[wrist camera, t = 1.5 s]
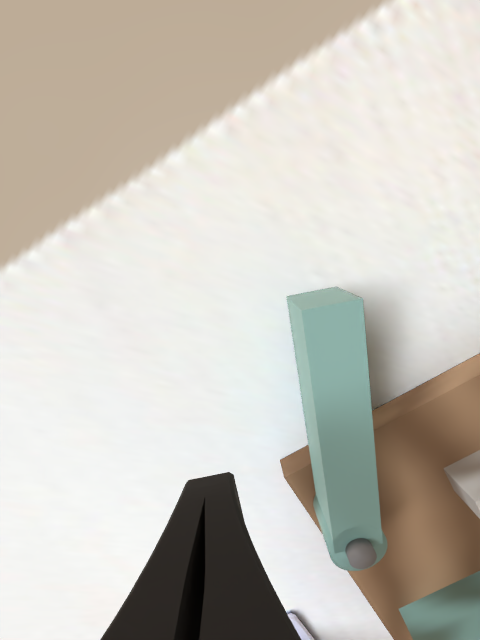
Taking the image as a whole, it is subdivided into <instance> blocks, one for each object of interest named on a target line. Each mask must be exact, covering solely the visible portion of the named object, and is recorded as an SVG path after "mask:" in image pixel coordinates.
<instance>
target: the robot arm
mask: <svg viewBox="0 0 480 640" xmlns="http://www.w3.org/2000/svg"><path fill="white" fill-rule="evenodd" d="M101 640H315V639H314V638H313V637H312V635H311V634H310V633H309V632H308V630H307V629H306V628H305V627H304V625H303V624H302V623H301V622H300V620H299V619H298V618H297V616H296V615H294V614H292V613H290V614H287V613H286V611H285V609H284V607H283V605H282V604H281V602H280V600H279V598H278V596H277V594H276V592H275V590H274V588H273V586H272V584H271V582H270V580H269V578H268V576H267V574H266V572H265V570H264V568H263V566H262V563H261V561H260V559H259V557H258V555H257V553H256V550H255V548H254V546H253V543H252V541H251V538H250V536H249V533H248V531H247V528H246V525H245V523H244V518H243V514H242V510H241V505H240V501H239V497H238V492H237V488H236V484H235V479H234V475H233V474H231V473H230V472H227V473H222V474H217V475H212V476H207V477H202V478H197V479H192V480H188V482H187V483H186V484H185V487H184V489H183V491H182V494H181V496H180V498H179V500H178V502H177V505H176V507H175V509H174V511H173V513H172V515H171V517H170V519H169V522H168V524H167V526H166V528H165V530H164V532H163V533H162V535H161V537H160V539H159V541H158V543H157V545H156V547H155V549H154V551H153V553H152V555H151V557H150V558H149V560H148V562H147V564H146V566H145V567H144V569H143V571H142V573H141V574H140V576H139V578H138V580H137V581H136V583H135V585H134V587H133V588H132V590H131V592H130V594H129V595H128V597H127V599H126V600H125V602H124V604H123V605H122V607H121V608H120V610H119V612H118V613H117V615H116V616H115V618H114V620H113V621H112V623H111V624H110V626H109V627H108V629H107V630H106V632H105V634H104V635H103V637H102V638H101Z"/></svg>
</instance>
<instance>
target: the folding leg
mask: <svg viewBox="0 0 480 640" xmlns="http://www.w3.org/2000/svg"><path fill="white" fill-rule="evenodd" d="M287 303H288V309H289V316H290V323H291V330H292V336H293V343H294V350H295V357H296V363H297V370H298V377H299V384H300V390H301V397H302V404H303V411H304V417H305V424H306V431H307V438H308V444H309V451H310V458H311V465H312V471H313V478H314V485H315V492H316V495H315V497H314V500H313V506H314V510H315V513H316V516H317V519H318V522H319V524H320V527H321V530H322V533H323V536H324V539H325V542H326V545H327V548H328V551H329V554H330V557H331V559H332V561H333V563H334V564H335V565H336V566H338V567H339V568H341V569H344V570H348V571H360V570H364V569H367V568H370V567H372V566H373V565H375V564H376V563H378V562H379V561H380V560H381V559H382V558H383V556H384V555H385V553H386V550H387V539H386V536H385V535H384V533H383V531H382V529H381V517H380V505H379V492H378V480H377V468H376V455H375V443H374V431H373V419H372V406H371V394H370V382H369V369H368V357H367V345H366V332H365V320H364V308H363V298H360V297H358V296H356V295H354V294H352V293H349V292H347V291H345V290H343V289H340V288H338V287H332V288H327V289H322V290H317V291H311V292H306V293H301V294H296V295H291V296H287Z"/></svg>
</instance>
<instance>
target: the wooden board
mask: <svg viewBox="0 0 480 640" xmlns="http://www.w3.org/2000/svg"><path fill="white" fill-rule="evenodd" d="M372 419H373V431H374V443H375V455H376V468H377V480H378V492H379V505H380V517H381V529H382V531H383V533H384V535H385V536H386V539H387V550H386V553H385V555H384V556H383V558H382V559H381V560H380V561H379V562H378V563H376V564H375V565H373V566H372V567H370V568H367V569H364V570H360V571H348V570H347V571H348V572H349V574H350V575H351V577H352V578H353V580H354V581H355V583H356V584H357V586H358V587H359V589H360V590H361V592H362V593H363V595H364V596H365V598H366V599H367V600H368V602H369V603H370V605H371V606H372V608H373V609H374V611H375V612H376V614H377V615H378V617H379V618H380V620H381V621H382V623H383V624H384V626H385V627H386V629H387V630H388V631H389V633H390V634H391V636H392V637H393V639H394V640H480V354H478V355H476V356H474V357H472V358H470V359H468V360H467V361H465V362H463V363H461V364H459V365H457V366H455V367H453V368H452V369H450V370H448V371H446V372H444V373H442V374H440V375H438V376H437V377H435V378H433V379H431V380H429V381H427V382H425V383H423V384H422V385H420V386H418V387H416V388H414V389H412V390H410V391H409V392H407V393H405V394H403V395H401V396H399V397H397V398H395V399H394V400H392V401H390V402H388V403H386V404H384V405H382V406H380V407H379V408H377V409H375V410H373V411H372ZM280 463H281V467H282V470H283V474H284V478H285V479H286V481H287V482H288V484H289V485H290V487H291V488H292V490H293V491H294V493H295V494H296V496H297V497H298V499H299V500H300V501H301V503H302V504H303V506H304V507H305V509H306V510H307V512H308V513H309V515H310V516H311V518H312V519H313V521H314V522H315V524H316V525H317V527H318V528H319V530H320V531H321V533H322V530H321V527H320V524H319V522H318V519H317V516H316V513H315V510H314V506H313V500H314V497H315V495H316V492H315V485H314V478H313V471H312V465H311V458H310V451H309V445H307V446H306V447H304V448H302V449H300V450H298V451H296V452H294V453H292V454H291V455H289V456H287V457H285V458H283V459H281V460H280ZM322 534H323V533H322Z"/></svg>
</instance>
